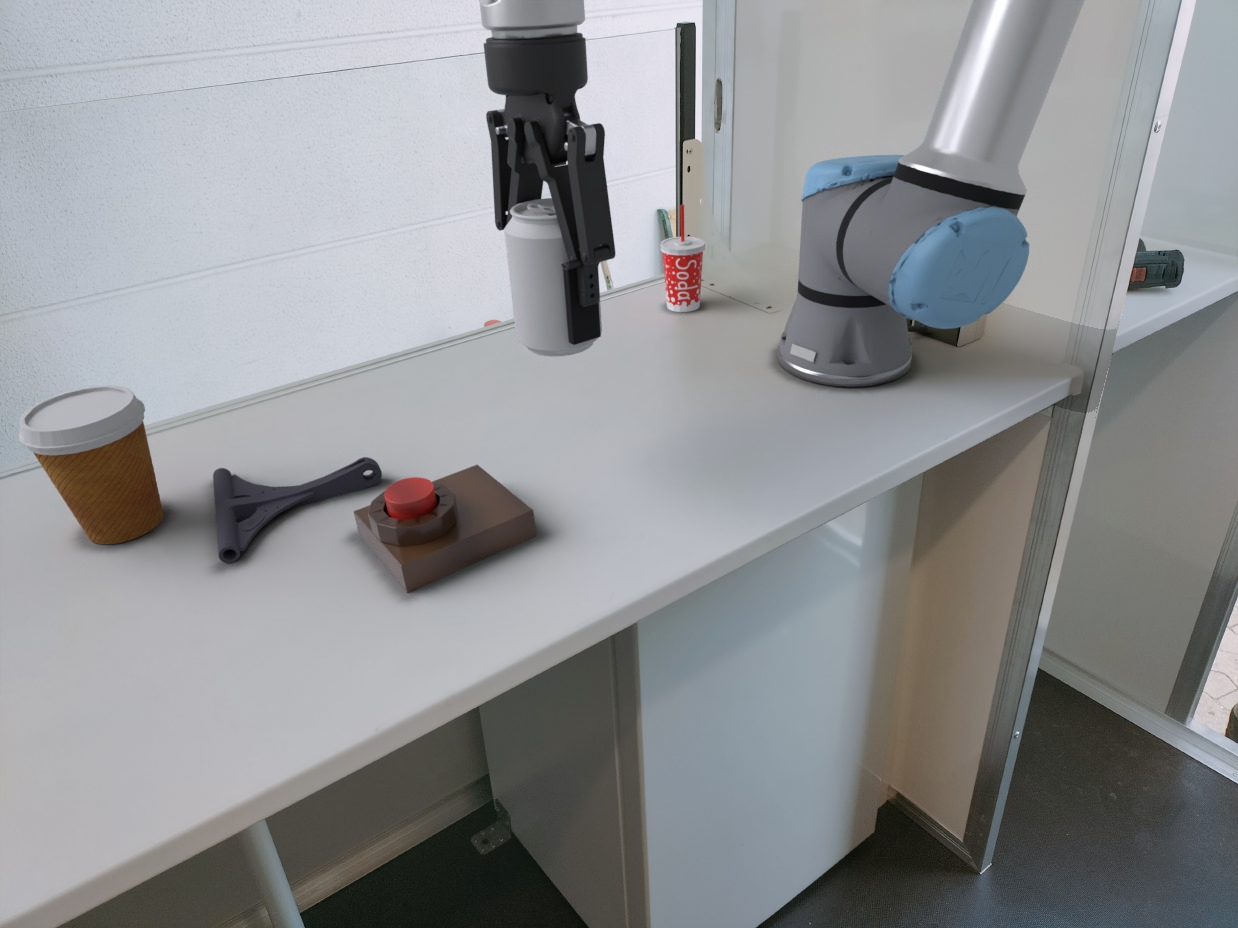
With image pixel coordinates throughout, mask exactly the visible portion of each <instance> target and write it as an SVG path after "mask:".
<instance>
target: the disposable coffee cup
mask: <svg viewBox="0 0 1238 928" xmlns="http://www.w3.org/2000/svg"><path fill="white" fill-rule="evenodd" d="M145 407H146V406H145V404H144V402H143V401H142V400H141V399H139V398H137V396H136V395H135V393H134V392H133V391H132V390H131V389H130V388H127V387H125V386H122V385H121V386H120V385H114V384H113V385H110V384H108V385H107V384H105V385H104V384H103V385H92V386H87V387H81V388H77V389H73V390H68V391H65V392H62V393H59V394H55V395H53V396H50V397H48V398H45V399H43V400H41V401H39V402H37V403H36V404H34V405H31V406H30V407H29V408H28V409H26V410H25V411H24V412H23V413H22V414H21V415H20V417H19V420H18V422H19V433H18V440H19V443H21V444H22V445H23V447H26V449H28V450H29V451H30V452H31V453H33V455H34V456H35V458H36V460H37V461H38V463H39V465H40V466H41V467H42V469H43V471H44V472H45V473H46V475H47V477H48V478H49V479H50V481H51V483H52V484H53V486H54V487H55V489H56V490H57V492H58V494H59V495H60V496H61V498H62V500H63V501H64V503H65V504H66V506H67V507H68V509H69V511H70V512H71V513H72V515H73V517H74V518H75V519H76V521H77V523H78V524H79V525H80V528H81V529H82V530H83V532H84V533H85V535H86V536H87V538H88V539H89V541H91V542H92V543H95V544H99V545H116V544H120V543H125V542H129V541H131V540H135V539H137V538H139V537H141V536H144V535H145V534H148V533H149V532H151V531H153V529H155V528H156V527H157V526H158V525H159V524H160V523H161V522H162V521H163V518H164V510H163V505H162V502H161V496H160V492H159V487H158V482H157V477H156V473H155V469H154V468H155V467H154V465H153V464H154V463H153V459H152V455H151V450H150V446H149V441H148V436H147V432H146V426H145V423H144V419H145V411H146V408H145Z"/></svg>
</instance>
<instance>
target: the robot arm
mask: <svg viewBox="0 0 1238 928" xmlns="http://www.w3.org/2000/svg"><path fill="white" fill-rule="evenodd" d="M1085 1H1086V0H972V1H971V5H970V7H969V10H968V13H967V15H966V19H965V21H964V24H963V27H962V30H961V33H960V36H959V39H958V41H957V44H956V47H955V50H954V53H953V55H952V58H951V61H950V64H949V67H948V69H947V73H946V75H945V78H944V81H943V84H942V87H941V90H940V92H939V96H938V98H937V101H936V103H935V107H934V109H933V112H932V115H931V119H930V121H929V124H928V126H927V129H926V133H925V135H924V138H923V141H922V142H921V144H920V145H919V146H918V147H917V148H915V149H913V150H912V151H910V152H908V153H906V154H873V155H859V156H858V155H857V156H856V155H855V156H846V157H839V158H830V159H826V160H822V161H817V162H816V163H814V164H812V165H811V166H810V167H809V168H808V169H807V171H806V174H805V177H804V183H803V189H802V195H801V202H802V203H801V204H802V205H801V206H802V207H801V221H800V222H801V223H800V224H801V225H800V241H799V242H800V243H799V244H800V245H799V261H798V275H797V276H798V279H797V280H798V281H797V294H796V298H795V300H794V303H793V306H792V308H791V310H790V313H789V316H788V318H787V321H786V323H785V326H784V330H783V332H782V333H781V336H780V338H779V343H778V351H777V360H778V362H779V365H780V366H781V367H782V368H783V370H785V371H787V372H788V373H789V374H791V375H793V376H795V377H798V378H800V379H802V380H805V381H808V382H812V383H815V384H820V385H827V386H832V387H833V386H834V387H835V386H836V387H850V388H852V387H853V388H855V387H856V388H857V387H868V386H869V387H870V386H875V385H877V386H878V385H881V384H886V383H889V382H892V381H894V380H897V379H899V378H901V377H903V376H904V375H905V374H906V373H907V372H908V371H909V370H910V368H911V366H912V360H913V359H912V357H913V345H912V340H911V338H910V335H909V333H913V332H914V333H916V332H918V333H919V332H927V331H928V329H929V328H928V327H930V328H934V329H941V330H949V329H957V328H961V327H962V328H963V327H967V326H968V325H972V324H973V323H976V322H977V321H979V319H981V317H983V316H984V315H989V314H990V313H992V312H994V311H995V310H996V309H997V308H999V307H1000V306H1001V305H1002V304H1003V303H1004V302H1005V301H1006V300H1007V299H1008V297H1009V296H1010V295H1011V294H1012V292H1013V291H1014V290H1015V288H1016V287H1017V286H1018V284H1019V282H1020V281H1021V278H1022V276H1023V274H1024V272H1025V270H1026V267H1027V265H1028V260H1029V255H1030V242H1028V241H1027V239H1026V238H1027V237H1028V231H1027V229H1026V228H1025V226H1024V223H1022V222H1021V220H1020V218H1018V214H1019V211H1021V210H1020V209H1021V206H1022V204H1023V202H1024V200H1025V197H1026V195H1027V187H1026V184H1025V183H1024V180H1023V179H1022V177H1021V175H1020V172H1019V165H1020V162H1021V161H1022V158H1023V155H1024V153H1025V150H1026V148H1027V145H1028V142H1029V140H1030V137H1031V135H1032V133H1033V131H1034V128H1035V125H1036V123H1037V121H1038V117H1039V116H1040V113H1041V110H1042V108H1043V106H1044V103H1045V100H1046V98H1047V96H1048V93H1049V90H1050V88H1051V85H1052V83H1053V80H1054V78H1055V75H1056V73H1057V71H1058V68H1059V66H1060V63H1061V61H1062V58H1063V55H1064V53H1065V51H1066V49H1067V46H1068V43H1069V42H1070V38H1071V36H1072V33H1073V31H1074V29H1075V26H1076V24H1077V21H1078V18H1079V17H1080V14H1081V11H1082V9H1083V6H1084V3H1085ZM479 10H480V19H481V26H482V27H483V28H484V29H485V30H486V31H490V32H491V33H490V34H491V36H490V37H487V38H486V39H485V42H484V43H483V52H484V61H485V70H486V78H487V79H486V81H487V85H488V88H489V90H490V91H491V92H492V93H494V94H497V95H502V96H505V100H504V108H501V109H494V110H487V111H486V115H485V118H486V124H487V128H488V133H489V138H490V150H491V171H492V187H493V189H492V190H493V208H494V209H493V210H494V211H493V212H494V224H495V227H496V229H497V230H498V231H499V232H500V231H504V229H505V227H506V225H507V224H508V223H509V221H510V220H511V218H512V215H511V213H510V210H511V208H512V207H513V206H515V205H517V204H519V203H523V202H526V201H531V200H536V199H542V197H543V196H542V195H543V189H544V183H546V184H547V186H548V189H549V195H550V198H552V201H553V205H554V208H555V212H556V216H557V219H558V223H559V227H560V230H561V234H562V238H563V241H564V245H565V249H566V252H567V256H568V260H569V262H566V263H563V264H561V265H562V267H563V275H564V287H565V300H566V312H567V325H568V337H569V343H571V344H573V345H576V344H579V343H582V342H585V341H589V340H592V339H595V338H598V337H599V338H602V333H600V316H599V299H600V300H601V292H600V293H599V289H600V275H599V276H598V272H599V265H600V263H602V262H605V261H609V260H613V259H615V257H616V245H615V237H614V229H613V222H612V215H611V207H610V199H609V190H608V181H607V174H606V167H605V158H604V155H605V138H606V130H605V127H604V126H603V124H602V123H600V122H599V123H598V122H597V123H590V124H588V123H586V122H584V121H582V120H581V115H580V111H579V109H578V105H577V101H576V95H577V92H578V90H581V89H583V88H585V87H586V85H587V84H588V81H589V74H588V58H587V56H588V55H587V43H586V42H587V41H586V37H583V36H584V35H583V33H582V32H578V26H580V25H582V24H583V23H584V22H585V21H586V13H585V10H586V9H585V0H479ZM579 247H580V251H579ZM907 320H911V321H917V322H918V323H921V324H923V325H908V321H907ZM922 326H924V327H922ZM599 338H598V339H599Z"/></svg>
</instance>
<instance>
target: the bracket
mask: <svg viewBox="0 0 1238 928" xmlns="http://www.w3.org/2000/svg"><path fill="white" fill-rule="evenodd" d="M367 471H372V472H371V473H369V474H365V473H366V472H367ZM382 476H383V472H382V469H381V467H380V465H379V463H378V461H376V460H375V459H373V458H371V457H367V456H363V457H360V458H358V459H357V460H355V461H353V462H351V463H350V464H348V465H346V466H343V467H342V468H339V469H337V470H335V471H333V472H331V473H328V474H326V475H325V476H321V477H319V478H316V479H313V480H311V481H307V482H304V483H302V484H297V485H288V486H270V485H264V484H257V483H254V482H250V481H247V480H245V479H244V478H241V477H240V476H238V475H237V474H232V472H231V471H230V470H229V469H227V468H224V467H220V468H217V469H215V470H214V471H213V473H212V482H213V495H214V509H215V525H216V536H217V537H216V539H217V551H218V552H217V553H218V558H219V560H220V561H221V562H223V563H224V564H225V563H226V564H232V563H235V562H236V561H238V560H239V558H240V557H241V552H245V550H246V549H247V548H248V546H249V544H250V543H251V542H252V540H253V538H254V537H255V536H256V535H257V534H258V533H259V531H260V530H262V528H263V527H264V526H265V525H267V524H268V523H269V522H270V521H272V520H273V519H274V518H275V517H276V516H278V515H279V514H281V513H282V512H284V511H286V510H288V509H290V508H294V507H298V506H302V505H306V504H310V503H314V502H319V501H322V500H326V499H330V498H333V497H338V496H341V495H345V494H349V493H353V492H357V491H361V490H365V489H369V488H372V487H374V486H376V485H377V484H378V483H380V482H381V480H382ZM238 521H240V522H238Z"/></svg>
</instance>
